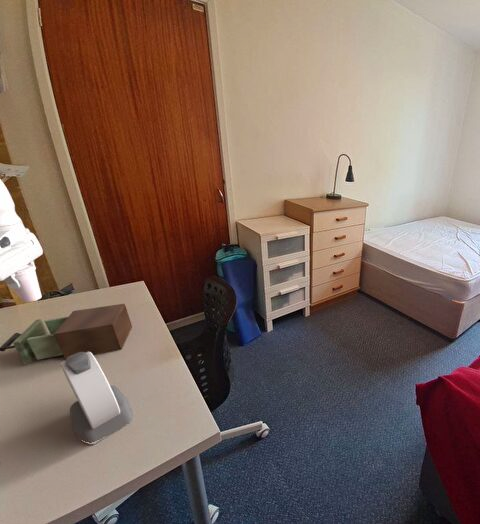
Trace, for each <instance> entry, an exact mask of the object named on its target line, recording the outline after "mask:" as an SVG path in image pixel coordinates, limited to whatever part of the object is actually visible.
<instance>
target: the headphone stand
mask: <svg viewBox="0 0 480 524" xmlns="http://www.w3.org/2000/svg"><path fill="white" fill-rule="evenodd" d="M60 367H61V370H62V372H63V373H64V376H65V378H66V380H67V382H68V385H69V386H70V388H71V390H72V392H73V394H74V396H75V398H76V401H74V403H72V404H71V406H70V408H69V418H70V425H71V428H72V430H73V432H74V434H75V436H76V437H77V436H78V437H77V438H78V439H79V438H80V439H81V440H83V441H85V442H89V443H92V442H95V441H97V440H100V439H102V438H103V437H105V436H108V435H110V434H111V435H113V434H115V433H116V432H118V431H119V430H121V429H123V428H124V427H126V426H127V425H126V424H128V425H129V424H130V423H131V422H132V421H131V420H133V409H132V406H131V404H130V402H129V399H128V397H127V395H125V394H124V393H123V392H122V390H121V389H119V387H117V386H116V385H111V384H110V383H109V381H108V378H107V377H106V375H105V373H104V371H103V369H102V367H101V365H100V364H99V362H98V360H97V358H96V357H95V355H93V354H92V353H91V352H86V353H85V352H78V353H76V354H74V355H71V356H69V357H67V359H65V360H64V361H62V362H60ZM130 421H131V422H130ZM125 425H126V426H125ZM123 426H124V427H123ZM122 427H123V428H122ZM111 435H110V436H111ZM108 437H109V436H108ZM80 439H79V440H80ZM81 440H80V441H81Z"/></svg>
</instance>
